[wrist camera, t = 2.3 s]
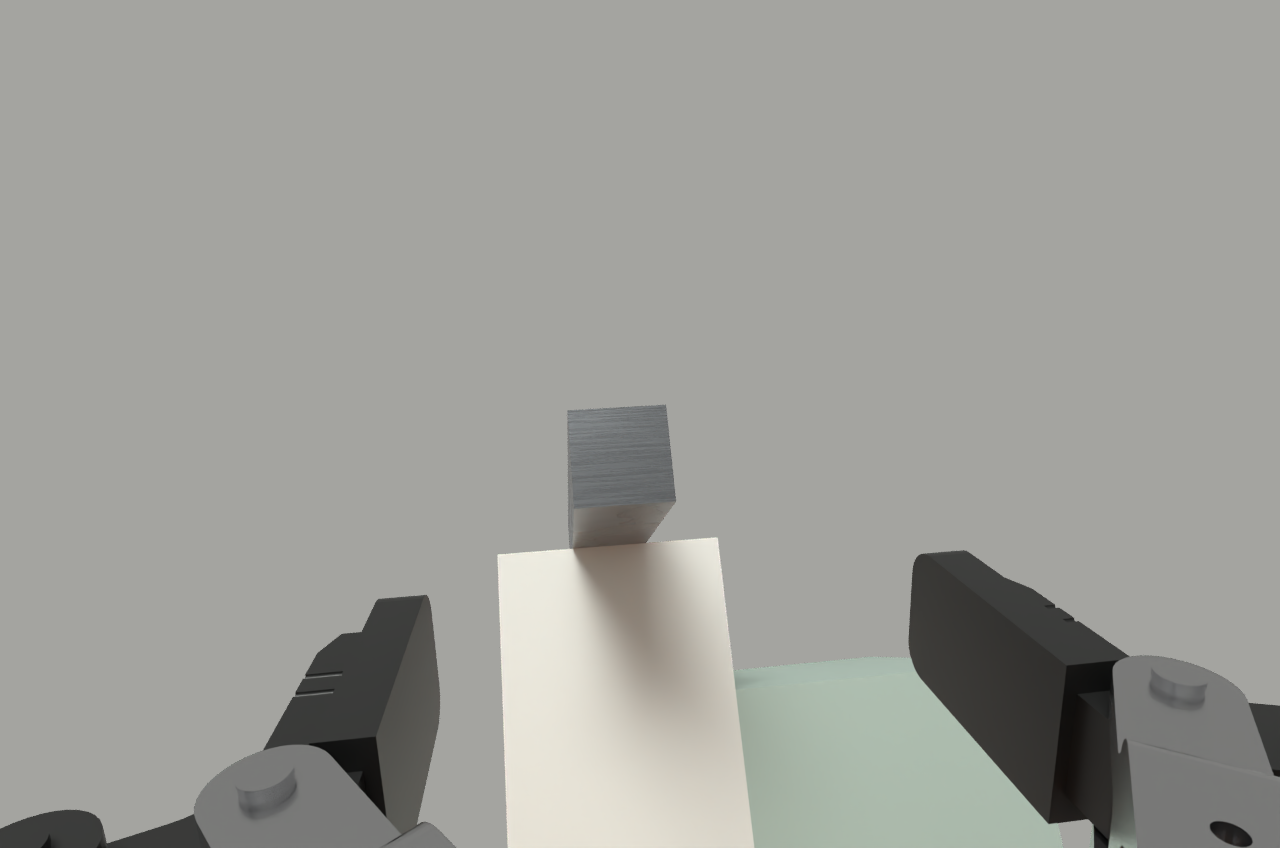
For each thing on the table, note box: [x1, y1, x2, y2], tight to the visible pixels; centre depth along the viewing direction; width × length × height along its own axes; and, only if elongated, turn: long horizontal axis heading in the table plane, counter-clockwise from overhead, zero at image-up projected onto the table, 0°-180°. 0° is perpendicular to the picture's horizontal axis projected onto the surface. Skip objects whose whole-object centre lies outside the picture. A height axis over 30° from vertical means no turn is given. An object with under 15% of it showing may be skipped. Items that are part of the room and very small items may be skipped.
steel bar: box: [568, 405, 676, 549], centre depth 33 cm, size 22×3×3 cm, turn 5°
